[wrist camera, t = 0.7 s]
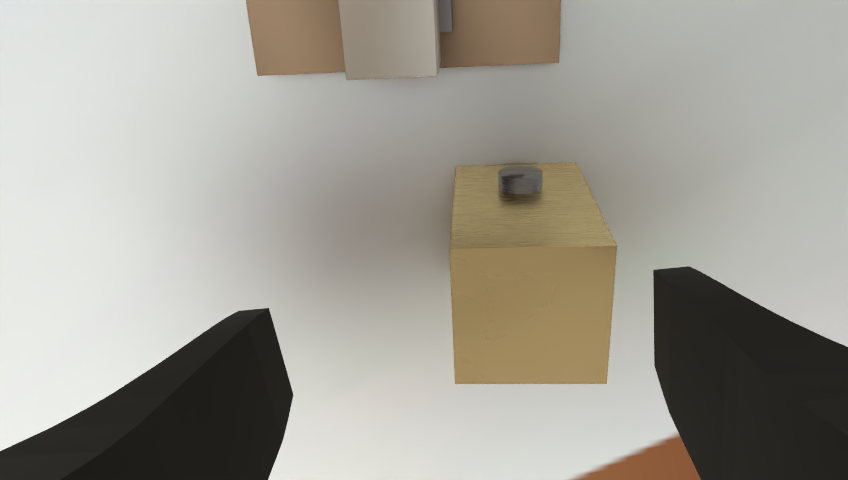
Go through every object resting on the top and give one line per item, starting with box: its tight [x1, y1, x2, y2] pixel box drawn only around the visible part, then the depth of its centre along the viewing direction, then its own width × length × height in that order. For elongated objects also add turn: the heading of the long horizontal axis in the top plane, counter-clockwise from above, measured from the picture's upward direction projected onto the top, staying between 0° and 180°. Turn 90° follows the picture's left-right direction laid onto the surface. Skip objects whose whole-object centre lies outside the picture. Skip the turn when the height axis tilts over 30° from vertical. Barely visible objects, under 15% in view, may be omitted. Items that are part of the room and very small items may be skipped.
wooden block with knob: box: [450, 163, 617, 384], centre depth 18 cm, size 4×4×6 cm
